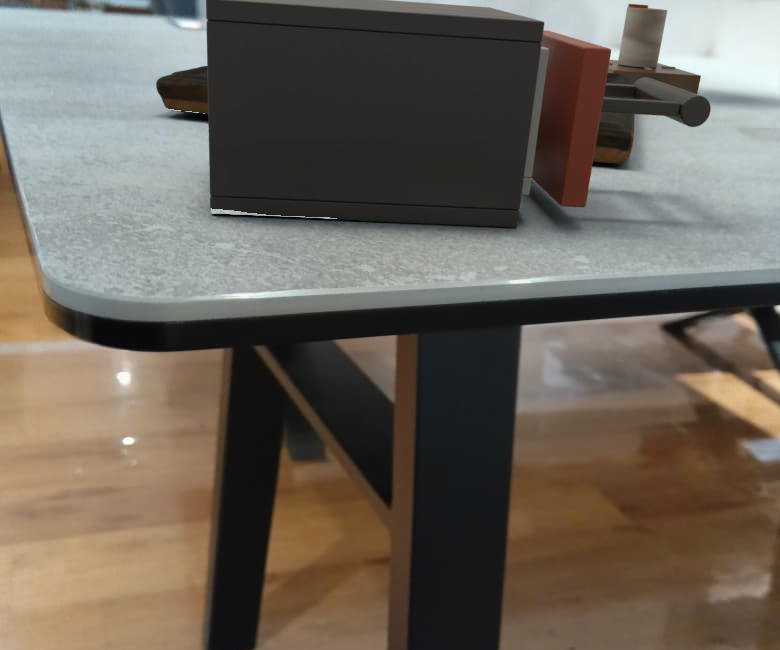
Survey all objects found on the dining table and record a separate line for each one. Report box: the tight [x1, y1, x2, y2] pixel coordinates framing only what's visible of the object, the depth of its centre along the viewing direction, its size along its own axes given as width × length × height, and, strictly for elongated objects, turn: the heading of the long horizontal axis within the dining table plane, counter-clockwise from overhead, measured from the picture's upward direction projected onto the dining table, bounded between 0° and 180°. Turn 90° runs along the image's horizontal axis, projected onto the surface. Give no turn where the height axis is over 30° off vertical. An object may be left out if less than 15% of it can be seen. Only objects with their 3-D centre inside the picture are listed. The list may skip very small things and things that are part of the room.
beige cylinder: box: [617, 3, 668, 68], centre depth 91 cm, size 4×4×6 cm
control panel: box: [608, 59, 702, 94], centre depth 93 cm, size 9×12×3 cm
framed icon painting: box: [155, 65, 635, 164], centre depth 71 cm, size 38×35×3 cm
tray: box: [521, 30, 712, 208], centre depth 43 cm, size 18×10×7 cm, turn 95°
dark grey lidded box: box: [205, 0, 545, 229], centre depth 42 cm, size 14×12×9 cm
